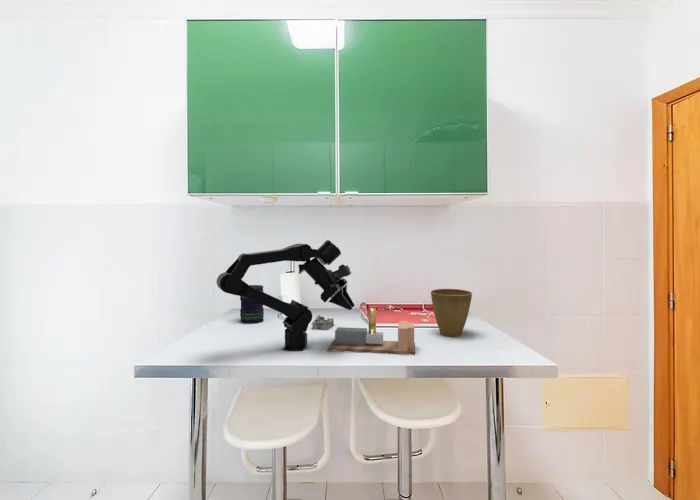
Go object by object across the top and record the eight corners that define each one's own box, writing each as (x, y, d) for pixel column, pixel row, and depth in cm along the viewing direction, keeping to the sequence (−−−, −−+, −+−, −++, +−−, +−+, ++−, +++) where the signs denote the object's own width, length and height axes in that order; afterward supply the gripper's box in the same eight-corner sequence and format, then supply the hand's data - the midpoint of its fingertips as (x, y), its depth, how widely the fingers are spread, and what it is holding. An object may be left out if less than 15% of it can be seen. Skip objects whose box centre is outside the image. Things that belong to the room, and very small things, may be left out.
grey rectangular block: (335, 345, 131) (335, 330, 131) (337, 341, 136) (337, 327, 136) (365, 346, 130) (365, 331, 129) (367, 342, 134) (367, 328, 134)
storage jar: (235, 322, 169) (234, 287, 168) (251, 317, 178) (250, 284, 177) (253, 324, 164) (252, 288, 164) (268, 320, 173) (268, 285, 172)
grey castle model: (319, 324, 167) (319, 314, 167) (336, 325, 165) (336, 315, 165) (309, 329, 157) (309, 319, 157) (327, 331, 155) (327, 320, 155)
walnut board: (327, 350, 128) (327, 347, 128) (334, 341, 139) (334, 338, 139) (414, 354, 124) (414, 351, 124) (414, 344, 135) (414, 342, 135)
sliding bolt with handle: (340, 341, 132) (340, 308, 131) (341, 339, 135) (341, 306, 134) (382, 343, 130) (382, 309, 129) (383, 341, 132) (383, 308, 132)
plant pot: (422, 331, 153) (423, 289, 152) (455, 328, 159) (455, 287, 158) (445, 341, 139) (445, 295, 139) (480, 337, 145) (480, 293, 144)
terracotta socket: (397, 350, 125) (398, 328, 125) (399, 341, 135) (399, 321, 135) (414, 351, 124) (414, 328, 124) (414, 342, 134) (414, 321, 134)
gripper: (330, 258, 123) (366, 295, 122) (341, 255, 141) (372, 287, 140) (305, 284, 125) (340, 320, 123) (320, 277, 143) (350, 308, 142)
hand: (352, 307), depth 132 cm, fingers open, 5 cm apart
